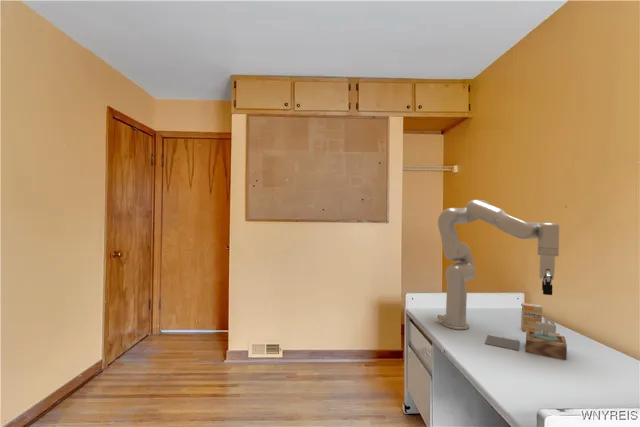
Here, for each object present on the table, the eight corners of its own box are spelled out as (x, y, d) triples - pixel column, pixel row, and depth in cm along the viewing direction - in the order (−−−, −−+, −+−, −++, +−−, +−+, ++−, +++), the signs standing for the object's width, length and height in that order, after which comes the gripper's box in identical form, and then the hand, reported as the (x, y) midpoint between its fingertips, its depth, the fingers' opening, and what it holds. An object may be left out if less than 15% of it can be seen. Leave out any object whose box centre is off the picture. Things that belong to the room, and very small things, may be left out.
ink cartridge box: (549, 336, 169) (549, 316, 169) (559, 345, 158) (560, 323, 158) (543, 336, 170) (544, 315, 170) (553, 344, 159) (554, 322, 159)
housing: (525, 351, 148) (526, 337, 148) (525, 343, 159) (526, 329, 159) (566, 360, 141) (566, 344, 141) (563, 350, 151) (564, 336, 151)
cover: (533, 340, 148) (534, 324, 148) (533, 334, 156) (534, 319, 156) (558, 344, 144) (558, 328, 144) (556, 338, 151) (557, 323, 151)
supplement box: (522, 331, 176) (523, 304, 176) (520, 328, 180) (521, 302, 180) (541, 333, 173) (542, 306, 173) (539, 330, 177) (540, 304, 177)
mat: (484, 344, 156) (484, 343, 156) (487, 335, 167) (487, 334, 167) (518, 350, 149) (518, 349, 149) (519, 341, 160) (519, 340, 160)
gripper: (537, 249, 159) (536, 288, 159) (538, 252, 144) (537, 295, 144) (557, 251, 156) (556, 290, 156) (560, 254, 141) (559, 297, 141)
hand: (547, 292), depth 150 cm, fingers open, 9 cm apart
